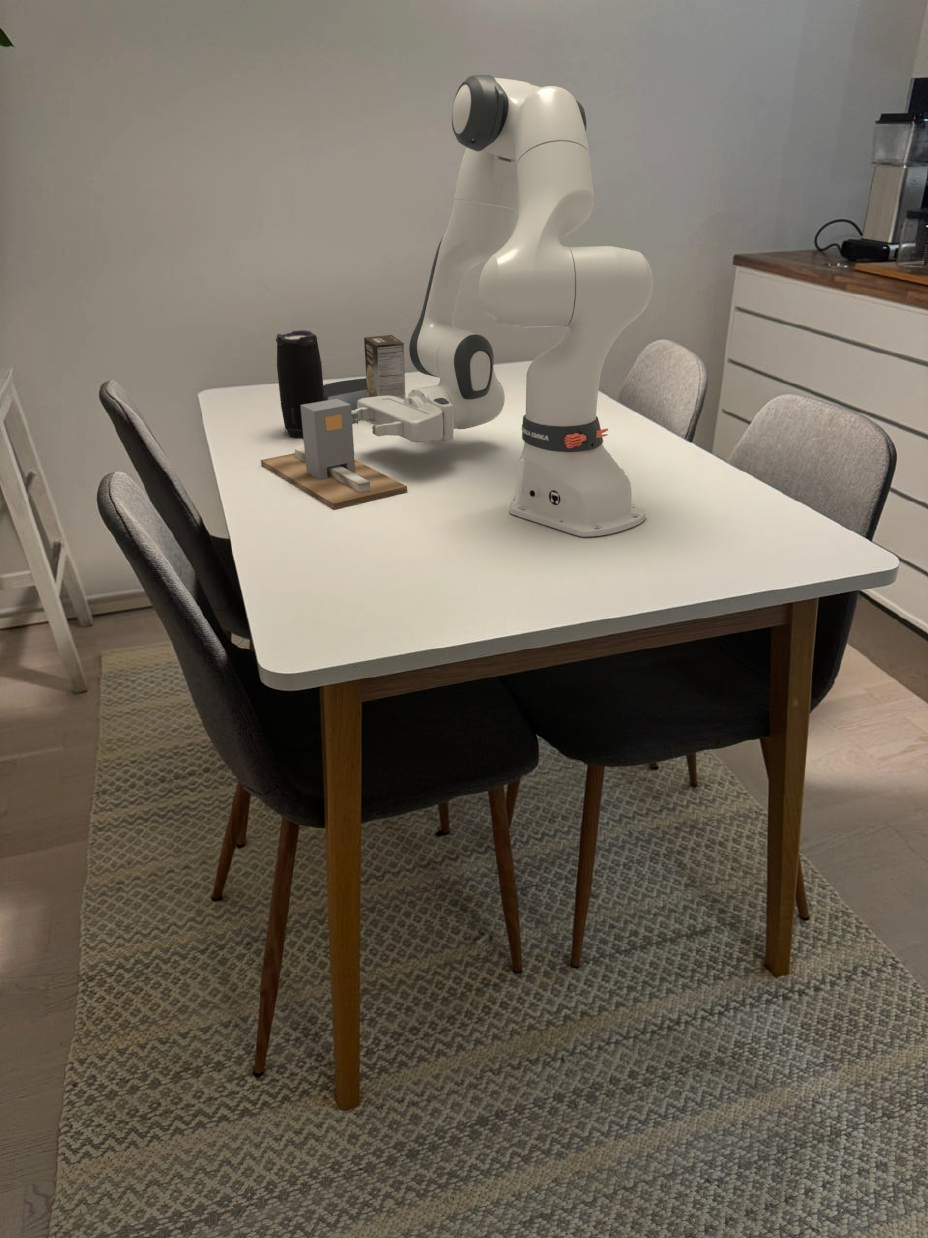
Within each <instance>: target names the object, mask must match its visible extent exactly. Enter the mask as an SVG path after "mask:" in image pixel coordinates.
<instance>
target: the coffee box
mask: <svg viewBox="0 0 928 1238" xmlns="http://www.w3.org/2000/svg"><path fill="white" fill-rule="evenodd" d="M404 344H405V343H404V342H403V341H401V340H399V339H398V338H397V337H395V336H394V335H392V334H388V335H385V334H384V335H375V336H374V335H373V336H367V337H364V338H363V345H364V361H365V362H364V363H365V378H366V382H367V398H368V397H376V396H395V397H398V398H401V399H403V400H405V399H406V375H405V374H406V373H405V372H406V370H405V366H406V365H405V345H404Z"/></svg>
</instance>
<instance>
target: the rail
mask: <svg viewBox="0 0 928 1238" xmlns="http://www.w3.org/2000/svg"><path fill="white" fill-rule="evenodd" d="M260 465H261V466H262V467H263V468H265V469H266V470H268V471H270V472H272V473H274V474H275V475H277V476H278V477H280V478H281V479H283V480H285V481H287V482H289V484H291V485H293V486H294V487H296V488H298V489H300V490H301V491H302V492H304V493H306V494H308V495H309V496H311V497H312V498H314V499H316V500H317V501H319V502H321V503H322V504H324V505H326V506H327V507H329V508H330V509H333V510H337V509H343V508H346V507H350V506H355V505H358V504H363V503H367V502H370V501H374V500H375V501H376V500H380V499H383V498H384V499H385V498H387V497H392V496H395V495H398V494H399V495H400V494H403V493H408V485H406V484H403V483H402V482H400V481H398V480H396V479H394V478H392V477H390V476H388V475H386V474H384V473H382V472H380V471H379V470H376V469H374V468H372V467H370V466H368V465H366V464H364V463H362V462H361V461H359V460H357V459H355V473H353V472H351V471H349V470H347V469H345V468H343V467H341V466H340V465H336V466H331V467H327V477H328V479H324V480H318V479H317V478H315V477H313V476H311V475H310V474H308V473H307V471H306V460H305V449H304V446H302V447H298V448H297V447H296V448H294V452H292V453H288V454H284V455H280V456H273V457H269V458H265V459H264V458H263V459H260Z"/></svg>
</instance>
